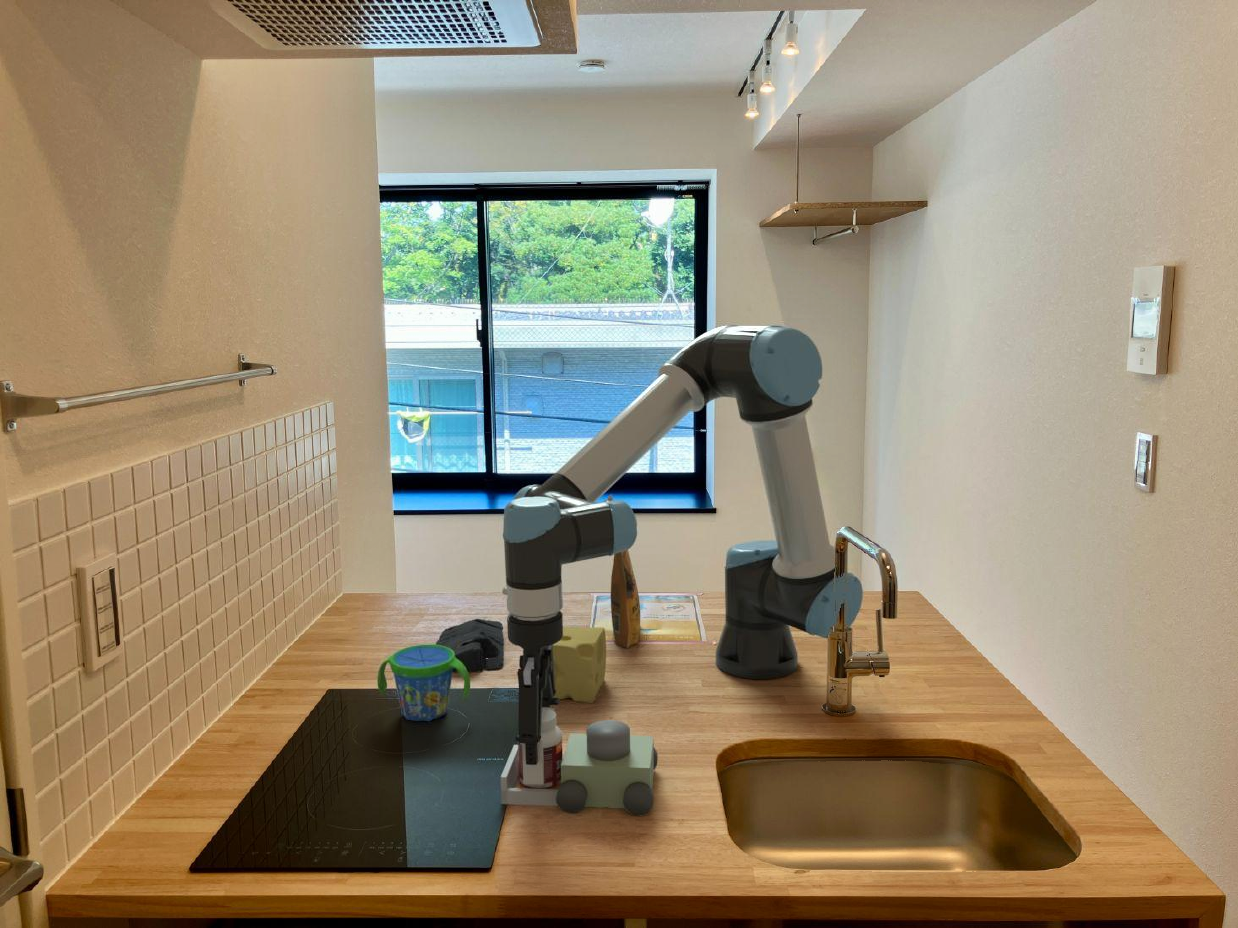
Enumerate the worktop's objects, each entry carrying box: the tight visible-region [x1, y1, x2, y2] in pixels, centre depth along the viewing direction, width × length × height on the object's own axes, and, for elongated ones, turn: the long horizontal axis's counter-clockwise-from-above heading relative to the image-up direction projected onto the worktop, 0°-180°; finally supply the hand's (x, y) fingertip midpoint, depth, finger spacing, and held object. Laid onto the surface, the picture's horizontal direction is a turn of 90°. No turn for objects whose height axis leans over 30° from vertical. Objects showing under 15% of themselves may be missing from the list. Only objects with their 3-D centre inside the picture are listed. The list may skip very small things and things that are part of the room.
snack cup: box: [376, 644, 471, 722], centre depth 152 cm, size 16×10×10 cm
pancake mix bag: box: [606, 493, 641, 649], centre depth 185 cm, size 7×19×28 cm, turn 178°
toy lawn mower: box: [500, 719, 659, 817], centre depth 128 cm, size 21×12×9 cm, turn 85°
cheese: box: [553, 626, 607, 704], centre depth 160 cm, size 10×11×10 cm
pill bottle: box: [517, 708, 564, 789], centre depth 128 cm, size 6×6×11 cm
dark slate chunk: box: [434, 618, 505, 674], centre depth 179 cm, size 15×22×5 cm
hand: (539, 765), depth 128 cm, fingers open, 8 cm apart
